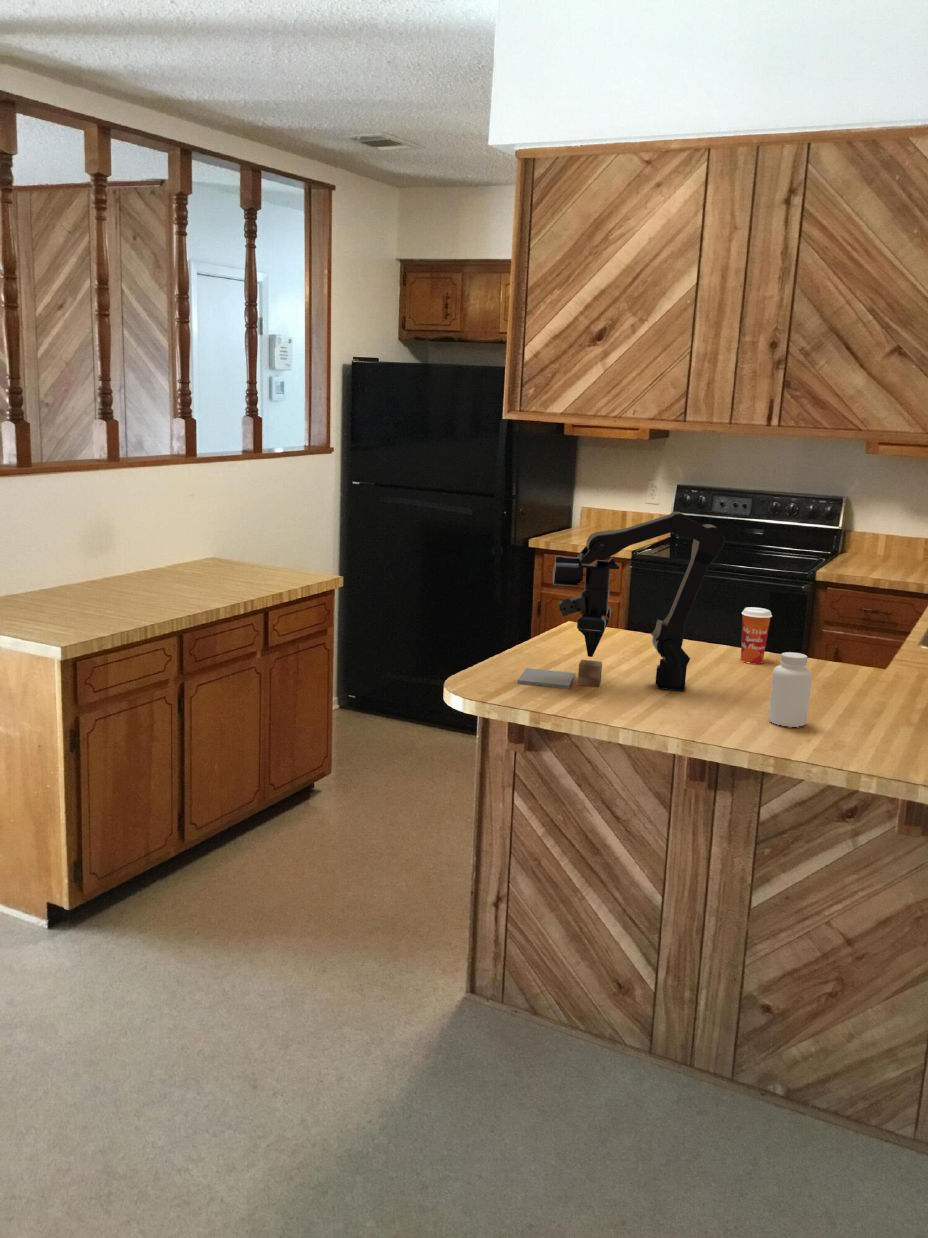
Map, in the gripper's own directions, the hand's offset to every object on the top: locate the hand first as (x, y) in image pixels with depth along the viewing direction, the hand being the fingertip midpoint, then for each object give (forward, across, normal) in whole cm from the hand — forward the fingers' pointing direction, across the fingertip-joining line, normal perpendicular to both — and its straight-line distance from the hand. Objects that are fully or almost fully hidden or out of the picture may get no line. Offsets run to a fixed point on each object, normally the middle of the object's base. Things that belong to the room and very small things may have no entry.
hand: (592, 652), depth 253 cm
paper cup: (+8, -39, +39) cm, 56 cm away
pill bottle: (+8, +16, +44) cm, 47 cm away
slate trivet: (+8, +1, -10) cm, 13 cm away
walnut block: (+8, 0, 0) cm, 8 cm away
